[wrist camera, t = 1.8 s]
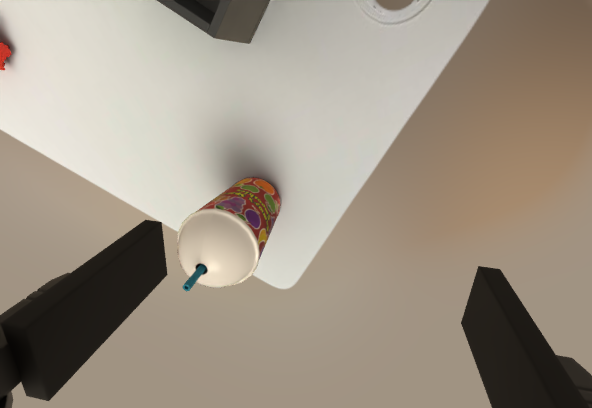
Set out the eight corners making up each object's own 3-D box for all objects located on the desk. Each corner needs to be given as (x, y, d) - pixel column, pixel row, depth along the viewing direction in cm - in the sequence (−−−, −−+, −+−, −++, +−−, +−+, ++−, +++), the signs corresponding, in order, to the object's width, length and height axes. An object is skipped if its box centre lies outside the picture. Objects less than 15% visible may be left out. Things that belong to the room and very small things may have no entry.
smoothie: (299, 189, 44) (252, 277, 26) (271, 237, 48) (213, 344, 29) (242, 156, 44) (155, 222, 26) (219, 207, 47) (127, 297, 29)
